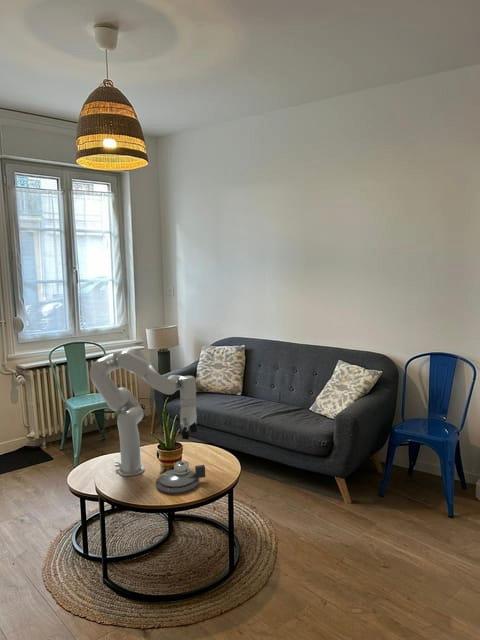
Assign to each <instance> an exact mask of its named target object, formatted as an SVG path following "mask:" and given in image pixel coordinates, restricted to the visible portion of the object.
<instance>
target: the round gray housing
mask: <svg viewBox="0 0 480 640" xmlns="http://www.w3.org/2000/svg"><path fill="white" fill-rule="evenodd" d="M158 478H159V483H160V484H161V485H162V486H165V487H169V488H179V487H184V486H187V485H190V484H192V483H193V482H194V481H195V480H196V478H199V479H201V478H206V465H205V464H200V465H194V471H193V470H191V469H190V472H189V473H188V474H186V475H175V474H174V469H173V470H165V472H163V473H161V474H160V475H159V476H158Z"/></svg>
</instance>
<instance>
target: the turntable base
mask: <svg viewBox="0 0 480 640" xmlns="http://www.w3.org/2000/svg"><path fill="white" fill-rule="evenodd" d="M199 485H200V478H196V480H195V481H194V482H193V483H192V484H190V485H187V486H184V487H179V488H169V487H165V486H162V485H161V484H160V483H159V477H158V478H157V479H156V480H155V488H156V490H157V491H159V492H160V493H163V494H166V495H181V494H186V493H188V492H192V491H193V490H195V489H197V488H198V487H199Z"/></svg>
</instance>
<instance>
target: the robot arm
mask: <svg viewBox="0 0 480 640" xmlns="http://www.w3.org/2000/svg"><path fill="white" fill-rule="evenodd" d="M119 369H124V370H125V371H127V372H129V373H132V374H133V375H136V376H137V377H139V378H140V379H142V380H144V382H146V384H148V386H150V387H151V388H152V389H155V390H156V391H158V392H160V393H162V394H164V395H173V394H175V392H177V391H179V392H180V394H179V395H180V398H179V399H180V411H179V418H180V419H179V422H180V423H179V424H180V430H181V437H182V438H181V439H182V440H189V438H190V437H189V436H190V434H189V428H190V433H197V432H198V429H197V428H198V427H197V423H198V422H197V420H198V418H197V417H198V414H197V406H196V405H197V389H196V378H195V376H194V375H184V376H183V375H178V374H171V375H169V376H167V377H165V376H164V375H161V374H160V373H159V372H157V371H156V370H155V368H154V365H153V364H152V363H151V361H148V360H146V359H144V358H142V357H140V354H139V352H138V351H137V350H136V349H134V348H126V349H123V350H120V351H116V352H112V353H109V354H106V355H104V356H102V357H101V358H98V359H97V360H95V361H94V362H93V364H92V365H91V367H90V370H89V380H90V381H91V383H92V384H93V385H94V387H95V388H96V390H97V391H98V393H99V394H100V396H101V397H102V399H103V400H104V402H105V403H106V404H107V406H108V408H109V409H110V410H111V411H114V412H117V411H121V413H120V414H119V415H118V417H117V420H116V424H117V429H118V430H117V431H118V435H119V449H120V450H119V451H120V461H119V460H116V461H115V463H114V467H115V468H119V469H118V470H117V471H118V474H119V475H120V476H122V477H133V476H137V475H139V474H142V473H143V472H144V471H145V466H144V465H142V464H141V463H142V462H141V446H140V433H139V427H138V424H139V423H140V422H141V421H142V420H143V417H144V410H143V408H142V406H141V404H140V403H139V401H138V400H137V399H136V397H135V396H134V394H133V393H132V391H131V390H129V389H128V388H126V387H123V386H122V387H118V386H117V384H116V383H115V381H114V380H113V379H112V378H111V377H109V374H111V372H114V371H116V370H119Z"/></svg>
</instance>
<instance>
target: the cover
mask: <svg viewBox="0 0 480 640" xmlns="http://www.w3.org/2000/svg"><path fill="white" fill-rule="evenodd" d="M190 470H191V469H190V462H189V461H185V460H181V461H180V460H178V461H177V462H176V463H175V462H174V474H175V475H186V474H188V473H189V472H190Z"/></svg>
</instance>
